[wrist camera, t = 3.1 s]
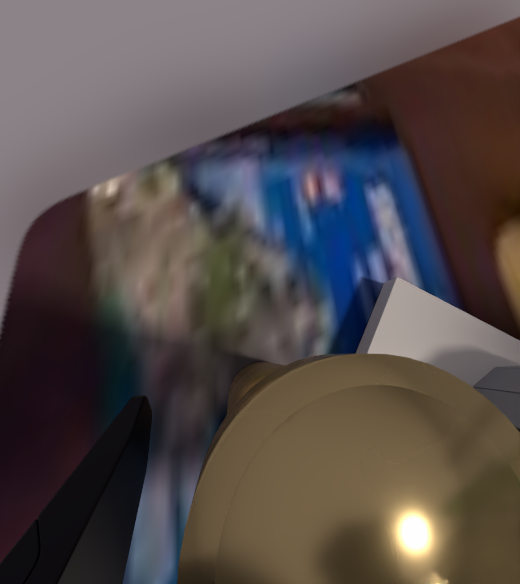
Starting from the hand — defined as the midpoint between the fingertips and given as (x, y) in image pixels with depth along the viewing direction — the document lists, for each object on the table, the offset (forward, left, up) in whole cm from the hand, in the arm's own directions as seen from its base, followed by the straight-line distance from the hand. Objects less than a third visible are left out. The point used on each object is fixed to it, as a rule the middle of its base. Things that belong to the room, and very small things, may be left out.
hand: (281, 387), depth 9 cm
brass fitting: (-1, -1, -7) cm, 7 cm away
